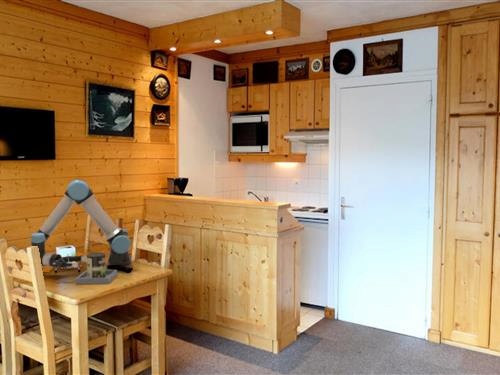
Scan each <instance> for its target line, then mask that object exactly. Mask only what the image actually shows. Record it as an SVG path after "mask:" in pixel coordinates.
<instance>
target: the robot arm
mask: <svg viewBox="0 0 500 375" xmlns="http://www.w3.org/2000/svg"><path fill="white" fill-rule="evenodd" d="M75 204H76V205H77V206H81V207H82V208H83V209H84V210H85V211H86V213H87V215H89V218H91V219H92V221H93V222H94V223H95V224H96V226H97V227H98V228H99V229H100V230H101V232H102V233H103V234H104V236H105V241H106V242H107V243H108V245H109V255H108V258H107V265H108V266H109V265H121V266H120V267H122V266H123V267H124V266H128V265H130V264H132V259H131V256H130V252H129V250H130V248H131V245H132V241H131V239H130V237H129V232H128V229H126V228H123V229H122V228H121V227H118V226H117V225H116V224H115V223H114V221H113V220H112V219H111V218H110V216H109V215H108V214H107V212H106V211H105V210H104V208H103V207H102V206H101V205H100V204H99V202H98V201H97V200H96V198H95V193H94V192H93V190H92V189H91V188H90V187H89V185H88V183H87V182H86V181H85V180H83V179H80V178H77V179H73V180H71V182H70V183H69V184H68V185H67V189H66V190H65V192H64V193H63V197H62V198H61V200H60V201H59V203H58V204H57V205H56V207H55V208H54V209H53V211H52V212H51V213H50V215H49V216H48V217H47V218H46V219H45V221H44V223H42V225H41V227H40V228H39V229H38V230H37V232H33V233H32V234H31V235H30V244H31V245H30V246H38V248H39V252H40V258H41V264H42V266H41V267H47V268H50V267H52V268H53V267H54V268H62V269H63V268H64V269H67V268H78V267H79V263H78V262H84V263H85V262H86V263H87V256H84V255H83V254H82V255H72V256H71V255H70V256H68V255H67V256H62V255H61V254H59V253H46V242H47V241H48V239H49V238H50V237H51V235H52V234H53V233H54V231H55V230H56V228H57V227H58V226H59V225H60V223H61V222H62V221H63V219H64V218H65V217H66V216H67V214H68V213H69V211H70V210H71V209H72V207H73V206H74V205H75Z"/></svg>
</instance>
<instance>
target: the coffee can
mask: <svg viewBox="0 0 500 375" xmlns="http://www.w3.org/2000/svg"><path fill="white" fill-rule="evenodd" d="M85 255H86V256H85V257H87V262H86V270H87V278H106V277H105V270H106V253H103V252H93V253H92V252H91V253H88V254H85Z"/></svg>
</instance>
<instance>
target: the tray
mask: <svg viewBox="0 0 500 375" xmlns="http://www.w3.org/2000/svg"><path fill="white" fill-rule="evenodd" d="M117 276H118V270H117V269H105V277H106V278H87V269H86V270H84V271H83V272H81V274H80V275H78V276H77V277H75V279H74V281H75V285H109V284H110V283H111V282H112V281H113V280H115V278H116V277H117Z"/></svg>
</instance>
